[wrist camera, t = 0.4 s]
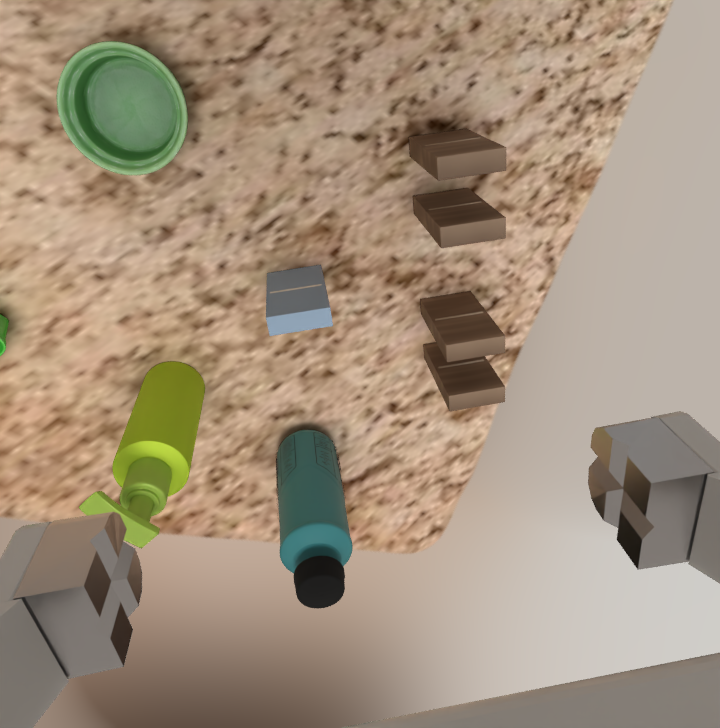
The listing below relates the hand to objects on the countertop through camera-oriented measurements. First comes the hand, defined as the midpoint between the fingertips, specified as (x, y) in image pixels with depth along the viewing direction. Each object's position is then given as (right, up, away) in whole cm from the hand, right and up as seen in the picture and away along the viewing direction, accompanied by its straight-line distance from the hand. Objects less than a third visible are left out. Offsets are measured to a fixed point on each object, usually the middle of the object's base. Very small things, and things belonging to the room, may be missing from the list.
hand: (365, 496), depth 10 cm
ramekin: (-18, +23, +37) cm, 47 cm away
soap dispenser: (-19, 0, +49) cm, 52 cm away
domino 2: (+7, +21, +41) cm, 46 cm away
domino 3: (+7, +17, +43) cm, 47 cm away
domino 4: (+8, +8, +48) cm, 50 cm away
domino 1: (-6, +10, +45) cm, 47 cm away
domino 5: (+9, +4, +51) cm, 52 cm away
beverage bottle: (-6, -6, +54) cm, 55 cm away
